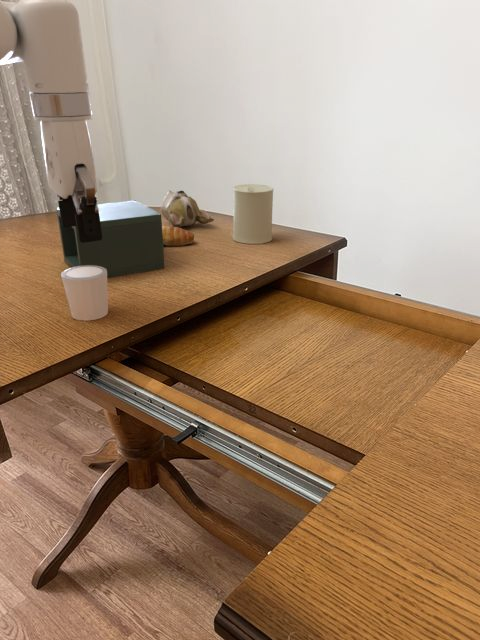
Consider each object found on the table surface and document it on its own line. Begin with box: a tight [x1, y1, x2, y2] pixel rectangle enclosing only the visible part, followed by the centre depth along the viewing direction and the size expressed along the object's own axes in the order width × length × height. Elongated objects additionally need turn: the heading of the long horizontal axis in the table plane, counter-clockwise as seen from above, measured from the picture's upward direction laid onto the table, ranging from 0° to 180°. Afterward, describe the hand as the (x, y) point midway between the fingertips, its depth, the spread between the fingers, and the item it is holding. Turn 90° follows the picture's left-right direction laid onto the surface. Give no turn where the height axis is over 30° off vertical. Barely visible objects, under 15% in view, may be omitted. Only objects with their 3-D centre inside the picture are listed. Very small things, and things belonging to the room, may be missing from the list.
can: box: [232, 183, 274, 245], centre depth 124 cm, size 9×9×12 cm
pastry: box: [162, 225, 195, 247], centre depth 122 cm, size 9×7×4 cm
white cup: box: [60, 265, 109, 322], centre depth 85 cm, size 7×7×7 cm
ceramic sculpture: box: [160, 190, 215, 228], centre depth 135 cm, size 11×9×15 cm
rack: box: [56, 199, 166, 279], centre depth 106 cm, size 16×14×11 cm
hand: (81, 233), depth 81 cm, fingers open, 9 cm apart
